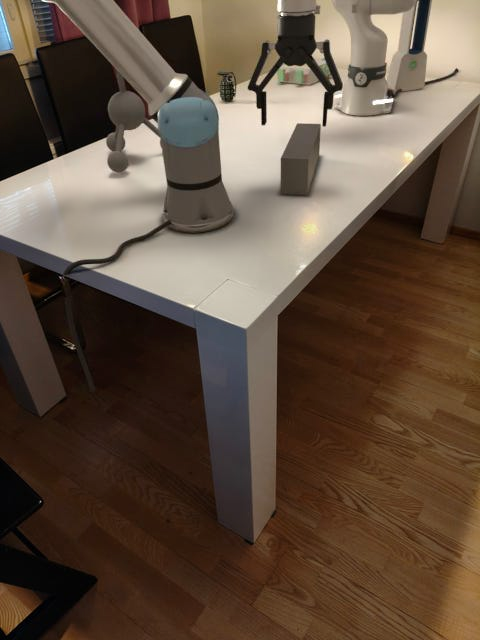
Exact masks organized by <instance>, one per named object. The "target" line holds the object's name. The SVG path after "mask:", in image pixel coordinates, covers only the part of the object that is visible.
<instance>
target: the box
mask: <svg viewBox="0 0 480 640" xmlns="http://www.w3.org/2000/svg"><path fill="white" fill-rule="evenodd" d="M321 127H322V124H321V123H301V122H299V123H296V125H295V126H294V129H293V131H292V134H291V135H290V138H289V140H288V141H287V143H286V146H285V149H284V150H283V153H282V154H281V157H280V195H282V196H283V195H284V196H285V195H286V196H304V197H307V196H308V194H309V191H310V188H311V185H312V180H313V178H314V175H315V171H316V168H317V165H318V161H319V158H320V149H321V148H320V146H321Z"/></svg>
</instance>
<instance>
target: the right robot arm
mask: <svg viewBox="0 0 480 640" xmlns="http://www.w3.org/2000/svg"><path fill="white" fill-rule="evenodd" d="M331 2H332V5H333V8H334V9H335V11H336V12H337V13H338V14H339V15H340V16H341V17H342V19H343V20H344V21H345V23H346V25H347V28H348V31H349V35H350V60H349V64H348V68H347V77H348V78H347V79H346V80H345V81H344V82H342V83H343V88H342V90H341V94H337V95H334V98H335V99H336V98H340V103H338V104H336V106H335V109H336V110H339V111H341V112H342V113H343V114H346V115H351V116H360V117H362V116H363V117H365V116H366V117H367V116H377V115H381V114H390V113H391V112H392V108H393V104H394V99H395V98H396V97H397V95H398V94H399V93H400V92H403V91H402V89H399V90H397V91H394V90H392V89H389V88H388V84H387V78H386V75H387V66H388V62H386V60H387V59H386V58H387V52H388V35H387V34H386V32H385V31H384V30H382V29H381V28H379V27H378V26H376V25H374V23H373V21H372V18H371V17H372V16H373V15H399V14H403V12H407V11H410V10H411V9H412V7H413V6H414V5H415V3H416V2H417V3H418V1H417V0H331ZM313 14H315V15H320V14H321V5H319V4H318V3H317V2H316V9H315V10H314V11H313ZM457 68H458V67H456V68H455V69H454V71H453V72H451V73H450V74H448V75H446V76H443V77H439V78H435V79H432V80H427V81H425V85H429V84H432V83H436V82H441V81H444V80H446V79H448V78H451V77H452V76H454V75H455V74H456V73H457V72H459V68H458V69H457Z"/></svg>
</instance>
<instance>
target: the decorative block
mask: <svg viewBox="0 0 480 640" xmlns="http://www.w3.org/2000/svg"><path fill="white" fill-rule="evenodd" d="M313 58H314V59H315V61H316V63H317V64H318V66H319V67H320V68H321V70H322V71H323V72H324V74H325V75H326V77H327V78H328V77H329V76H330V75H331V73H330V71H329V68H328V66H327V63H326V60H325V58H324V57H322V58H320V57H313ZM276 73H277V77H276V78H277V80H276V81H277V82H279V83H288V84H298V85H307V86H311V85H312V84H315V83H317V82H320V81H319V80H318V78H317V77H316V76H315V74H314V73H313V71H312V70H311V69H310V68H309V67H308V65H307V64H305V65H302V66H296V65H293V66H287V65H285V64H284V63H283V64H282V66H281V67H280V68H279V69H278V71H277V72H276Z"/></svg>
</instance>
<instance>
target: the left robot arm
mask: <svg viewBox="0 0 480 640" xmlns="http://www.w3.org/2000/svg"><path fill="white" fill-rule="evenodd" d="M41 1H42V2H45V3H53V4H55V5H56V6H57V7H58V8H59V9H60V10H61V11H62V12H63V13H64V15H66V16H67V18H68V19H69V20H70V21H71V22H72V23H73V24H74V25H75V27H77V28H78V30H80V32H81V33H82V34H83V35H84V36H85V37H86V39H88V40H89V41H90V43H91V44H92V45H94V47H95V48H96V49H97V50H98V51H99V52H100V53H101V54H102V56H104V58H105V59H106V60H107V61H108V62H109V63H110V64H111V66H113V67H114V68H115V70H116V69H117V70H118V71H119V72H120V74H121V75H122V76H123V77H124V80H126V81H127V82H128V83H129V85H130V86H131V87H132V88H133V90H135V91H136V92H137V93H138V95H140V96H141V97H142V99H143V100H144V101H145V102H146V103H147V106H148V107H147V109H148V110H147V111H148V115H149V116H150V117H151V119H152V120H153V121H154V122H155V123H156V124H157V125H156V127H157V129H158V131H159V134H160V137H159V140H160V139H161V146H162V148H161V153H162V159H163V168H164V174H165V180H166V190H165V191H166V192H165V196H164V203H163V207H162V218H163V223H162V224H160V225H158V226H157V227H155V228H153V230H151V231H149V232H147V233H145V234H142V235H139V236H136V237H132V238H130V239H127V240H125V241H123V242H122V243H121V244H120V245H118V247H117V249H116V251H115V252H114V253H113V254H111V255H110V256H107V257H104V258H88V259H86V258H85V259H80V260H76V261H73V262H72V263H70V264H69V265H68V266H67V267H66V268H65V270H64V271H63V273H62V275H63V276H68V275H69V274H70V273H71V272H72V271H73V270H74V269H76V268H78V267H81V266H85V265H86V266H87V265H102V264H107V263H111V262H113V261H115V260H117V259H118V258H119V257H120V256H121V255H122V253H123V251H124V249H126V248H127V247H128V246H129V245H132V244H134V243H138V242H142V241H144V240H147V239H149V238H152V237H153V236H154V235H155V236H156V234H157V233H160V231H163V230H164V229H166V228H169V229H171V230H173V231H177V232H180V233H190V234H191V233H192V234H193V233H194V234H195V233H196V234H197V233H205V232H206V233H207V232H210V231H215V230H216V229H220V228H222V227H224V226H226V225H227V224H228V223H230V221H231V220H232V218H233V216H234V212H233V211H234V210H233V204H232V201H231V200H230V197H229V195H228V192H227V190H226V187H225V184H224V182H223V175H222V174H223V173H222V161H221V147H220V146H221V145H220V133H219V131H220V130H219V128H220V126H219V125H220V122H219V121H220V117H219V111H218V108H217V105H216V102H214V100H213V99H212V97H211V96H210V95H209V94H208V93H206V91H203V90H202V89H200V88H199V87H198V86H197V85H196V84H195V82H194V81H193V80H192V79H191V77H189V75H188V74H186V73H178V72H175V70H174V69H173V68H172V66H170V64H169V63H168V62H167V61H166V60H165V58H163V57H162V54H160V53H159V52H158V50H157V49H156V48H155V47H154V46H153V45H152V43H151V42H150V41H149V40H148V39H147V38H146V37H145V35H144V34H143V33H142V32H141V30H140V29H138V27H137V26H136V25H135V24H134V23H133V22H132V20H131V19H130V18H129V17H128V16H127V15H126V13H125V11H124V10H122V8H121V7H120V6H119V5H118V4H117V3H116V2H115V0H41ZM316 3H317V0H277V12H278V13H279V15H278V16H277V36H276V37H277V38H276V41H275V42H271V41H269V40H265V41H264V42H263V43H262V44H261V51H260V52H261V54H260V56H259V59H258V60H257V63H256V66H255V69H254V71H253V73H252V76H251V78H250V80H249V83H248V85H247V90H248V91H250V92H254V93H255V97H256V98H255V100H256V101H255V103H256V108H257V110H260V113H261V114H260V117H261V118H260V120H261V121H260V122H261V126H266V124H267V122H268V121H267V119H268V118H267V117H268V116H267V113H268V112H267V111H268V110H267V108H268V107H267V90H266V91H264V89H265V88H266V86H267V85H268V84H269V82H271V80H272V79H273V78H274V76H275V75H276V73H277V71H278V69H279V68H280V67H281V66H283V63H284V64H285V65H287V66H293V65H296V66H302V65H305V64H307V65H308V67H309V68H310V69H311V70H312V71H313V73H314V74H315V76H316V77H317V78H318V80H319V81H318V82H319V83H320V84H321V85H322V87H323V88H324V89H325V91H324V94H323V107H322V109H323V110H322V122H321V123H322V124H321V127H327V122H328V110H333V106H334V98H335V95H334V94H335V93H338V92H340V91H341V92H342V88H343V83H344V82H343V80H342V77H341V75H340V72H339V70H338V68H337V65H336V63H335V61H334V57H333V55H332V51H331V41H330V39H327V38H326V39H325V40H324V41H316V36H315V35H316V14H314V10H315V9H316ZM317 49H318V50H319V53H320V54H323V58H325V60H326V63H327V66H328V68H329V71H330V73H331V74H330V75H331V78H332V81H333V83H332V82H331V81H330V79H329V78H328V77H326V75H325V74H324V72H323V71H322V70H321V68H320V67H319V66H318V64H317V63H316V61H315V59H314V58H315V57H314V56H313V54H314V53H315V51H316V50H317ZM273 50H275V52H276V53H277V55H278V57H279V58H278V60H277V61H276V62H275V63H274V65H273V66H272V67H271V69H270V70H269V71H268V73H267V74H266V76H265V77H264V78H263V79H262V81H261V82H260V83H259V84H257V82H258V81H259V78H260V75H261V73H262V71H263V68H264V66H265V64H266V62H267V59H268V56H269V55H271V54H272V52H273ZM161 146H160V147H161ZM64 304H65V310H66V316H67V317H66V318H67V322H68V326H69V330H70V335H71V337H72V341H73V343H74V346H75V350H76V352H77V356H78V357H79V360H80V364H81V367H82V368H83V371H84V374H85V378H86V380H87V383H88V386H89V390H90V392H91V393H95V392H96V388H95V385H94V380H93V378H92V375H91V373H90V369H89V366H88V364H87V361H86V358H85V355H84V353H83V349H82V347H81V344H80V341H79V337H78V334H77V331H76V327H75V322H74V315H73V310H72V303H71V298H69V297H65V296H64Z"/></svg>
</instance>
